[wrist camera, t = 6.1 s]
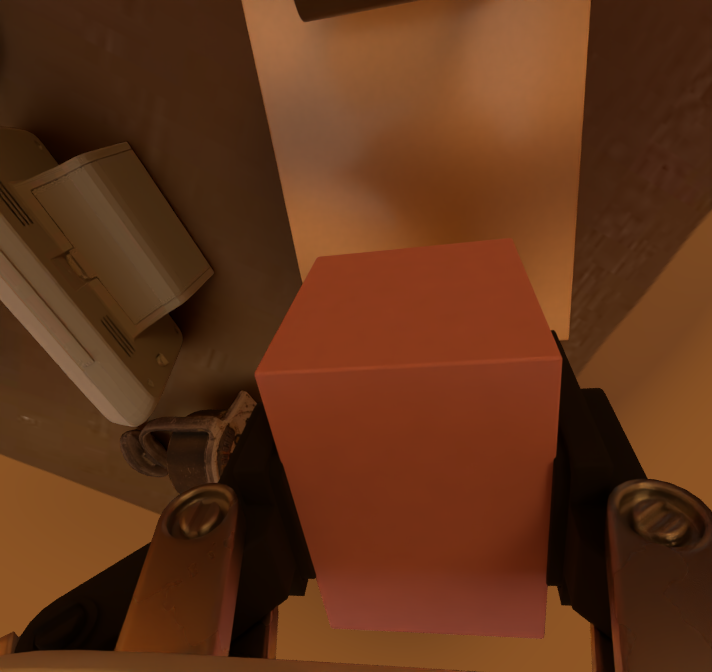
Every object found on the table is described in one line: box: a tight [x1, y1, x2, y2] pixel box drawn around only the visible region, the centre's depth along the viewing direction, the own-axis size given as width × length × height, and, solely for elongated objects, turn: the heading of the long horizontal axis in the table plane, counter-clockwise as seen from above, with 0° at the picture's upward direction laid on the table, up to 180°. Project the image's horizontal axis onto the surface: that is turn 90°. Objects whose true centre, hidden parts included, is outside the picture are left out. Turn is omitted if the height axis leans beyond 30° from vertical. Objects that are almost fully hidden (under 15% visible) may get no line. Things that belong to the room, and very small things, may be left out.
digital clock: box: [0, 126, 214, 427], centre depth 26 cm, size 16×9×11 cm, turn 16°
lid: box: [241, 0, 591, 340], centre depth 18 cm, size 16×12×5 cm
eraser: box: [255, 238, 562, 639], centre depth 10 cm, size 6×4×5 cm, turn 9°
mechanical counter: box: [120, 390, 257, 494], centre depth 35 cm, size 7×13×10 cm
